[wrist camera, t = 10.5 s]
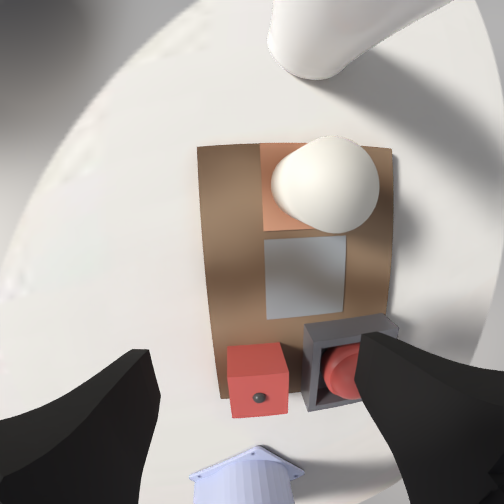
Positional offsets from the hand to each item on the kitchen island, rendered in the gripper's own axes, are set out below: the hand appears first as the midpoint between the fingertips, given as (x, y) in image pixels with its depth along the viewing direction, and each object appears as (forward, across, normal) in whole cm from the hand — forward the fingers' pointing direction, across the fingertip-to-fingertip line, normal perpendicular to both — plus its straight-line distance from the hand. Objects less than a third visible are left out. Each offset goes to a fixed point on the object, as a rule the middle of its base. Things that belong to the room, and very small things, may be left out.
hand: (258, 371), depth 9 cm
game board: (+9, -4, 0) cm, 10 cm away
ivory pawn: (+8, -4, -6) cm, 11 cm away
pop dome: (+8, -7, +6) cm, 11 cm away
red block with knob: (+8, 0, +6) cm, 10 cm away
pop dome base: (+8, -6, +6) cm, 12 cm away
